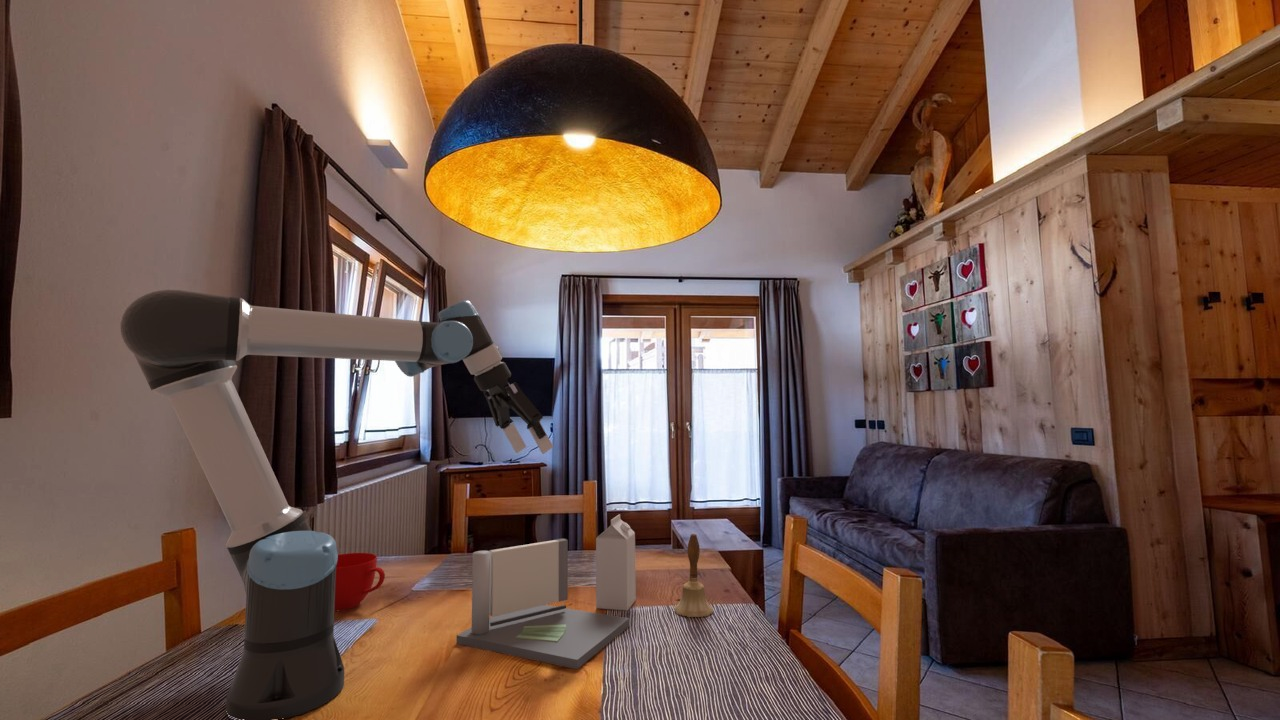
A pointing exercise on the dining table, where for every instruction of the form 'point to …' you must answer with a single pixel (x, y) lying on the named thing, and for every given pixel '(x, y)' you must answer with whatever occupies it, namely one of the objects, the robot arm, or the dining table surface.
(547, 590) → the hinged door panel
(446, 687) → the dining table surface
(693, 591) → the hand bell
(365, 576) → the ceramic cup
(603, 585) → the milk carton
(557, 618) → the grey flat slab
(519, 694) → the dining table surface
